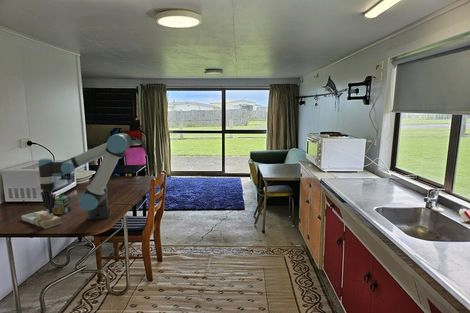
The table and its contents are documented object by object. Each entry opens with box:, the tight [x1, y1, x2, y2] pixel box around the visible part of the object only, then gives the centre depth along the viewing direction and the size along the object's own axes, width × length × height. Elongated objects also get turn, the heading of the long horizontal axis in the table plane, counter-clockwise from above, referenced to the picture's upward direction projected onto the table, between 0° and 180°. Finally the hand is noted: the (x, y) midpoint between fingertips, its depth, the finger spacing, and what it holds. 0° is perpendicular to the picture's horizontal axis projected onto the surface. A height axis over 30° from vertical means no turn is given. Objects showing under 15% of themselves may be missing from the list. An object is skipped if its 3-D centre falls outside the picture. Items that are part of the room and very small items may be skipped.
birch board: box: [33, 214, 63, 230], centre depth 194 cm, size 14×10×4 cm
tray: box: [21, 211, 37, 225], centre depth 201 cm, size 16×10×3 cm, turn 61°
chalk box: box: [52, 192, 72, 215], centre depth 216 cm, size 9×9×15 cm
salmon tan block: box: [40, 212, 55, 220], centre depth 193 cm, size 6×5×3 cm
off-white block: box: [35, 210, 47, 218], centre depth 196 cm, size 6×5×3 cm
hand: (50, 217), depth 191 cm, fingers closed
